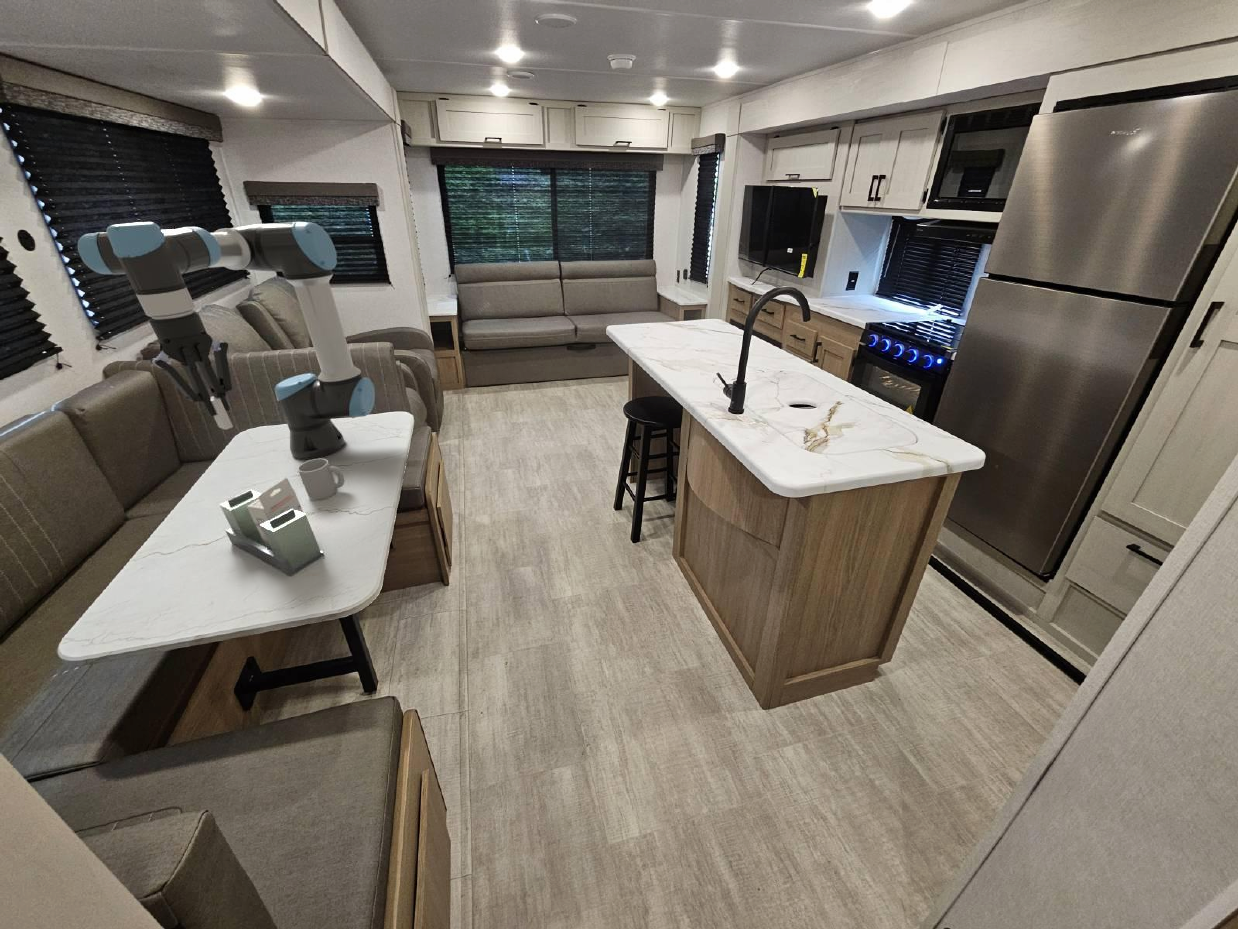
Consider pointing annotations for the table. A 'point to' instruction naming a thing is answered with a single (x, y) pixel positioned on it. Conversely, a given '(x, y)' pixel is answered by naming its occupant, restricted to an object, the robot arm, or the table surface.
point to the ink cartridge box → (273, 505)
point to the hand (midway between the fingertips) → (226, 427)
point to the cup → (320, 478)
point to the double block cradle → (272, 535)
